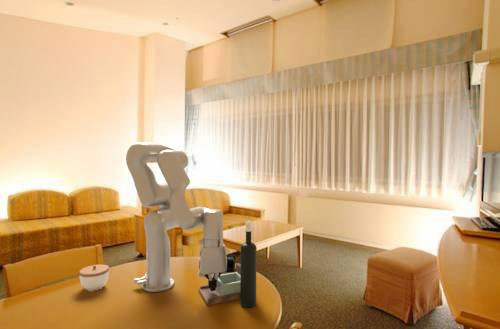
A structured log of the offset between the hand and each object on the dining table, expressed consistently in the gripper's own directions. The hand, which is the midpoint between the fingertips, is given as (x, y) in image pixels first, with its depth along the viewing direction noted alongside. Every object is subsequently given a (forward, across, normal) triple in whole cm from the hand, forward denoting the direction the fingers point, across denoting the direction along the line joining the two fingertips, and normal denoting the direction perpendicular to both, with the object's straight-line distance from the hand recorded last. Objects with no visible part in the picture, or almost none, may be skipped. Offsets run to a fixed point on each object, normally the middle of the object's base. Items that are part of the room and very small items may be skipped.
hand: (212, 289), depth 111 cm
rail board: (+3, +5, 0) cm, 5 cm away
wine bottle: (+3, +10, -11) cm, 15 cm away
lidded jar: (+3, -42, +25) cm, 49 cm away
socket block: (+1, +7, 0) cm, 7 cm away
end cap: (+3, +13, +24) cm, 28 cm away
